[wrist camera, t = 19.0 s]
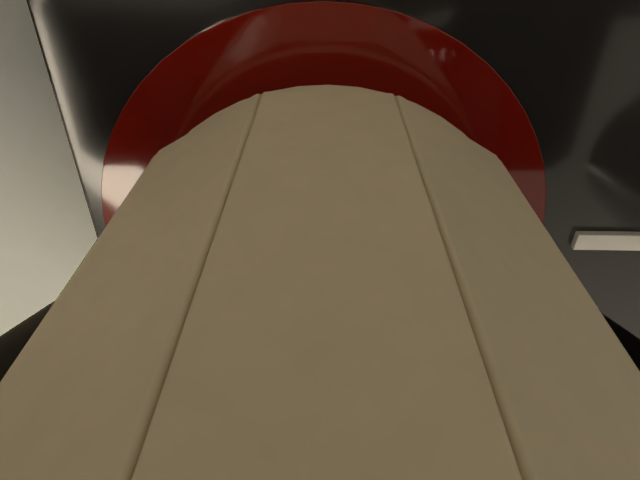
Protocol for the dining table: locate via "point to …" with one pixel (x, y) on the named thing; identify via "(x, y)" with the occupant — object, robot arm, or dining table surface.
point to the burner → (321, 83)
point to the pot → (323, 316)
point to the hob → (465, 25)
